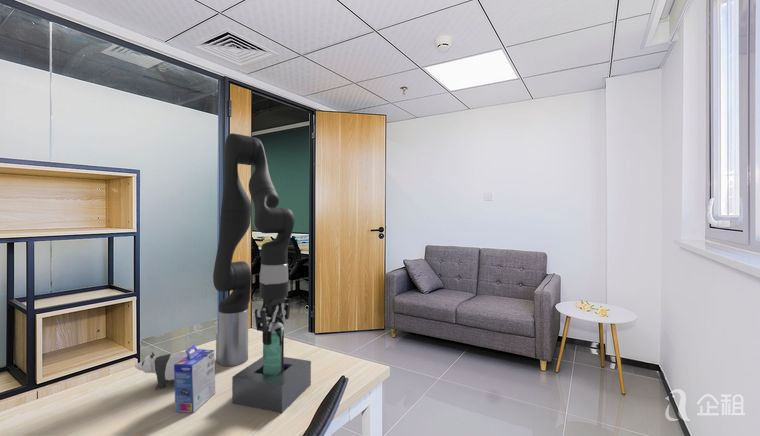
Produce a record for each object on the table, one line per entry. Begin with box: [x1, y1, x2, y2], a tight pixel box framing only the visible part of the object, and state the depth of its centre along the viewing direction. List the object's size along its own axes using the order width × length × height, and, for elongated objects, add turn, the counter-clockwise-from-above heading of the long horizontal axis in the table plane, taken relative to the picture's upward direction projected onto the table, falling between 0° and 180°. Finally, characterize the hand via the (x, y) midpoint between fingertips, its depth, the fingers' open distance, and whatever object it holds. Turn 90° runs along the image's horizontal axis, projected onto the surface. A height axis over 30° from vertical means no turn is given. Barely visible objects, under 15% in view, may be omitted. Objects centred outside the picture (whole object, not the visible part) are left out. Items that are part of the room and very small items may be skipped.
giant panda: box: [134, 351, 191, 390], centre depth 100 cm, size 15×6×10 cm, turn 111°
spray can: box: [262, 316, 285, 377], centre depth 96 cm, size 6×6×20 cm
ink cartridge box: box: [174, 344, 216, 414], centre depth 91 cm, size 10×6×14 cm, turn 174°
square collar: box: [231, 356, 312, 414], centre depth 96 cm, size 15×15×7 cm
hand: (273, 340), depth 96 cm, fingers closed on spray can, 5 cm apart
